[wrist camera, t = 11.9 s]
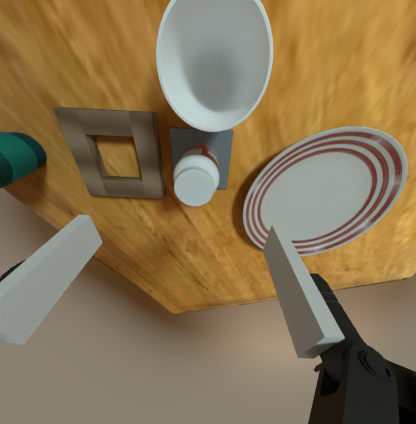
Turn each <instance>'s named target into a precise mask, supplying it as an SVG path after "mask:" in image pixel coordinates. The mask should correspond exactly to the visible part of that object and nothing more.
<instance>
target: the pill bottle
mask: <svg viewBox="0 0 416 424" xmlns="http://www.w3.org/2000/svg"><path fill="white" fill-rule="evenodd" d="M173 179H174V190H175V194H176V196H177V197H178V199H179V200H180V201H181V202H183V203H184V204H186V205H189V206H201V205H204V204H205V203H207V202H208V201H209V200H210V199H211V197H212V195H213V193H214V192H215V191H216V189H217V187H218V184H219V162H218V157H217V154H216V153H215V151H214V150H213V149H212V148H211V147H210V146H208V145H206V144H194V145H192V146H190V147H189V148H188V149H187V150H186V151H185V153H184V154H183V156H182V157H181V159H180V160H179V162H178V163H177V165H176V167H175V169H174V173H173Z"/></svg>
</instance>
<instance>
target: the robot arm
mask: <svg viewBox="0 0 416 424" xmlns="http://www.w3.org/2000/svg"><path fill="white" fill-rule="evenodd" d="M102 243H103V242H102V240H101V238H100V236H99V234H98V232H97V230H96V228H95V226H94V224H93V221H92V219H91V217H90V215H78V216H77V217H76V218H75V219H74V220H72V221H71V222H70V223H69V224H68V225H67V226H65V227H64V228H63V229H62V230H61V231H60V232H58V233H57V234H56V235H55V236H54V237H52V238H51V239H50V240H49V241H48V242H47V243H45V244H44V245H43V246H42V247H41V248H40V249H39V250H37V251H36V252H35V253H34V254H33V255H31V256H30V257H29V258H28V259H27V260H24V261H22V262H20V263H18V264H17V265H15V266H13V267H12V268H10V269H9V270H8V271H7V272H6V273H4V274H3V275H2V276H1V278H0V340H1V341H3V342H5V343H8V344H24V343H25V342H26V340H27V339H28V338H29V337H30V336H31V334H32V333H33V332H34V330H35V329H36V328H37V327H38V325H39V324H40V323H41V321H42V320H43V319H44V317H45V316H46V315H47V313H48V312H49V311H50V310H51V308H52V307H53V306H54V304H55V303H56V302H57V301H58V299H59V298H60V297H61V296H62V294H63V293H64V292H65V290H66V289H67V288H68V287H69V285H70V284H71V283H72V281H73V280H74V279H75V277H76V276H77V275H78V274H79V272H80V271H81V270H82V268H83V267H84V266H85V264H86V263H87V262H88V261H89V259H90V258H91V257H92V256H93V254H94V253H95V252H96V250H97V249H98V248H99V247H100V245H101V244H102ZM263 253H264V256H265V259H266V262H267V265H268V268H269V271H270V274H271V277H272V280H273V283H274V286H275V289H276V293H277V296H278V299H279V302H280V305H281V308H282V310H283V314H284V317H285V320H286V323H287V326H288V329H289V332H290V335H291V338H292V341H293V344H294V347H295V351H296V354H297V356H298V358H315V357H317V356H318V355H320V357H321V359H322V363H321V364H319V365H317V366H316V367H315V369H314V371H315V372H318V371H320V372H319V377H318V381H317V386H316V391H315V395H314V400H313V405H312V409H311V414H310V418H309V422H308V424H416V372H415V371H412V370H410V369H407V368H405V367H402V366H400V365H398V364H395V363H393V362H390V361H388V360H386V359H384V358H383V357H382V355H380V354H379V353H378V352H377V351H375V350H374V349H373V348H372V347H370V346H368V345H367V344H366V343H365V342H364V341H363V340H362V338H361V337H360V335H359V334H358V332H357V330H356V329H355V327H354V326H353V324H352V322H351V321H350V319H349V318H348V316H347V314H346V313H345V311H344V310H343V308H342V306H341V305H340V303H338V300H337V298H336V297H335V295H334V294H333V292H332V290H331V289H330V287H329V285H328V284H327V282H326V281H325V280H324V279H323V278H322V277H321V276H320V275H319V274H312V273H309V272H308V270H307V268H306V267H305V265H304V263H303V261H302V259H301V258H300V256H299V254H298V252H297V250H296V248H295V247H294V245H293V243H292V241H291V239H290V238H289V236H288V234H287V232H286V230H285V229H284V227H283V225H273V224H272V226H271V228H270V231H269V234H268V237H267V240H266V242H265V245H264V248H263Z"/></svg>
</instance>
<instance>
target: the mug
mask: <svg viewBox="0 0 416 424" xmlns="http://www.w3.org/2000/svg"><path fill="white" fill-rule="evenodd" d="M272 61H273V40H272V32H271V27H270V23H269V20H268V17H267V14H266V12H265V9H264V7H263V5H262V3H261V2H260V0H171V1H170V3H169V5H168V6H167V8H166V10H165V13H164V15H163V18H162V20H161V23H160V27H159V31H158V36H157V44H156V64H157V72H158V77H159V81H160V84H161V88H162V90H163V93H164V95H165V97H166V99H167V101H168V103H169V105H170V106H171V108H172V109H173V110H174V112H175V113H176V114H177V115H178V116H179V117H180V118H181V119H182V120H183V121H184V122H186V123H187V124H189V125H190V126H192V127H194V128H196V129H199V130H202V131H207V132H219V131H224V130H228V129H230V128H232V127H234V126H236V125H238V124H240V123H241V122H242V121H244V120H245V119H246V118H247V117H248V116H249V115H250V114H251V113H252V112H253V110H254V109H255V108H256V106H257V105H258V103H259V102H260V100H261V98H262V96H263V94H264V92H265V90H266V87H267V84H268V81H269V78H270V74H271V69H272Z"/></svg>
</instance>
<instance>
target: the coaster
mask: <svg viewBox="0 0 416 424" xmlns="http://www.w3.org/2000/svg"><path fill="white" fill-rule="evenodd" d="M169 129H170V141H171V152H172V164H173V173H174V169H175V167H176V165H177V163H178V162H179V160H180V159H181V157H182V156H183V154H184V153H185V151H186V150H187V149H188V148H189V147H190V146H192V145H194V144H206V145H208V146H210V147H211V148H212V149H213V150H214V151H215V153H216V154H217V157H218V162H219V184H218V187H217V189H226V188H227V179H228V171H229V163H230V154H231V146H232V137H233V131H226V130H224V131H219V132H207V131H202V130H199V129H187V128H169Z"/></svg>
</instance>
